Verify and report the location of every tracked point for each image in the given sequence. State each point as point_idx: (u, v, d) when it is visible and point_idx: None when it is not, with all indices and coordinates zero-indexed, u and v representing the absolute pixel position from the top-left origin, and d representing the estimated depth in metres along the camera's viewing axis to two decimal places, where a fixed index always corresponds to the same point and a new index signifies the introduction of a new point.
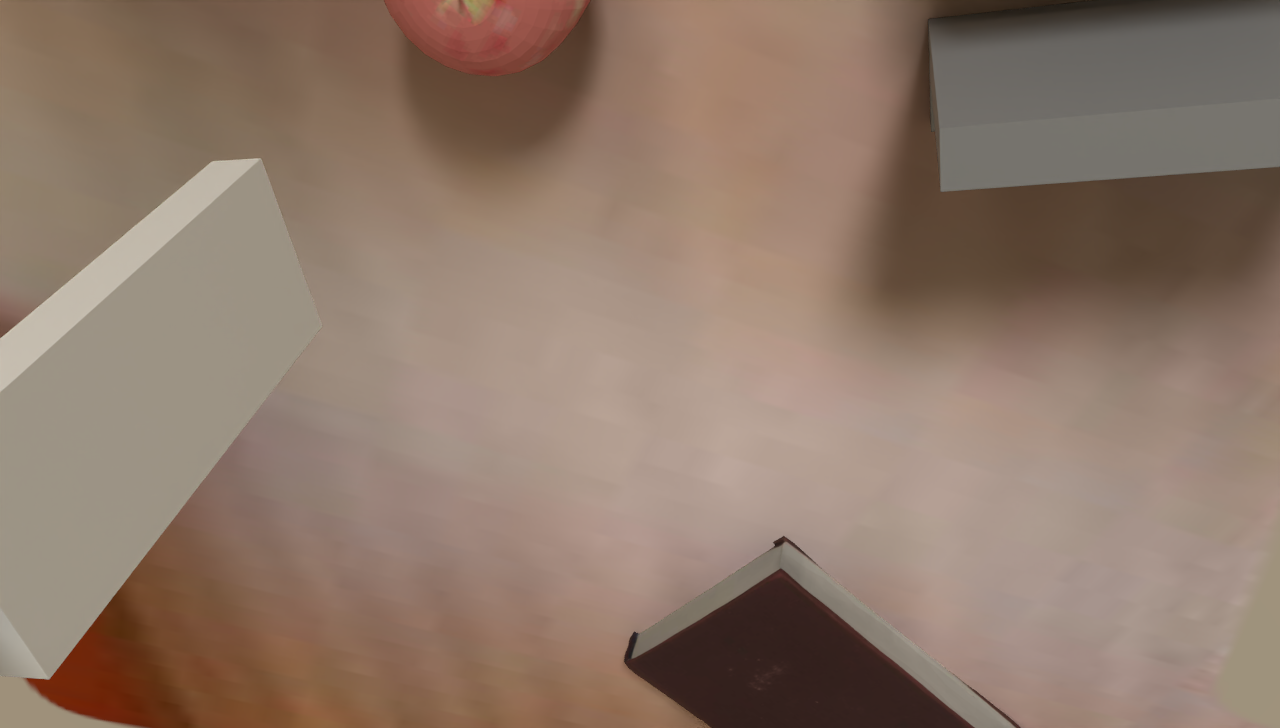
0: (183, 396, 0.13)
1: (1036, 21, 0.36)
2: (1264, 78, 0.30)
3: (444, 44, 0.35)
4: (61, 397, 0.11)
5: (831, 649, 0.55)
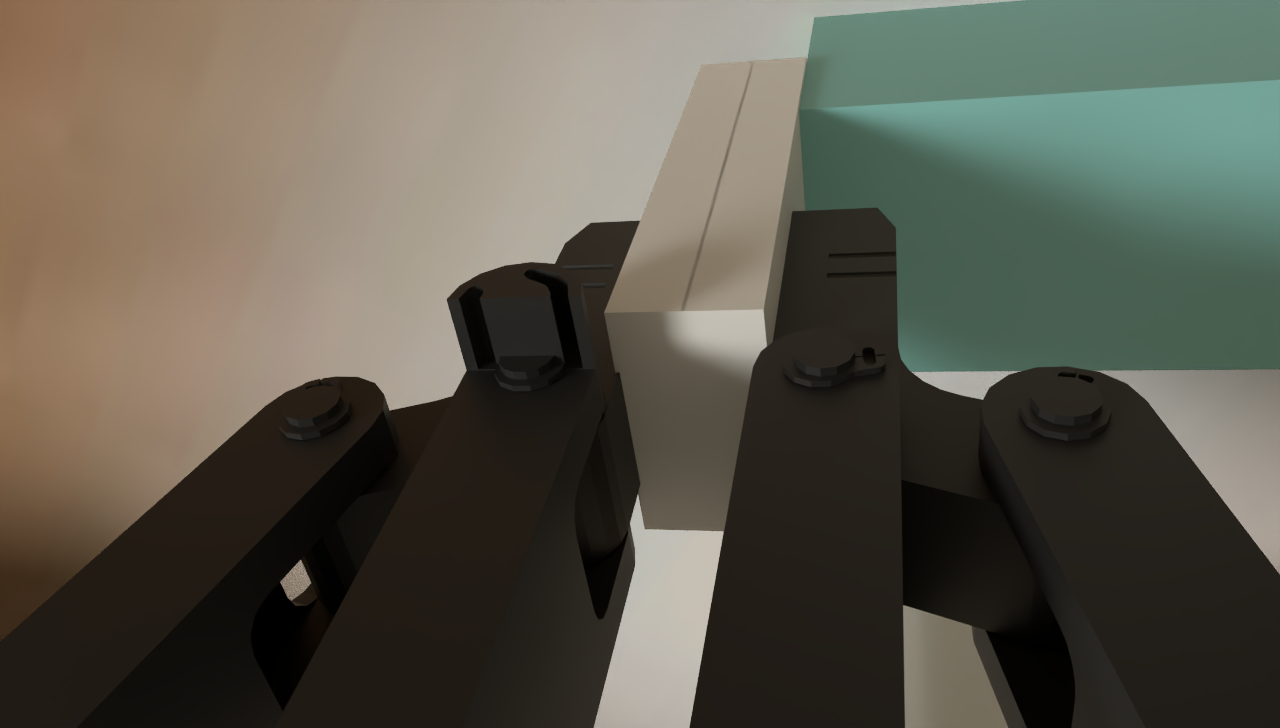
0: None
1: None
2: None
3: None
4: None
5: None
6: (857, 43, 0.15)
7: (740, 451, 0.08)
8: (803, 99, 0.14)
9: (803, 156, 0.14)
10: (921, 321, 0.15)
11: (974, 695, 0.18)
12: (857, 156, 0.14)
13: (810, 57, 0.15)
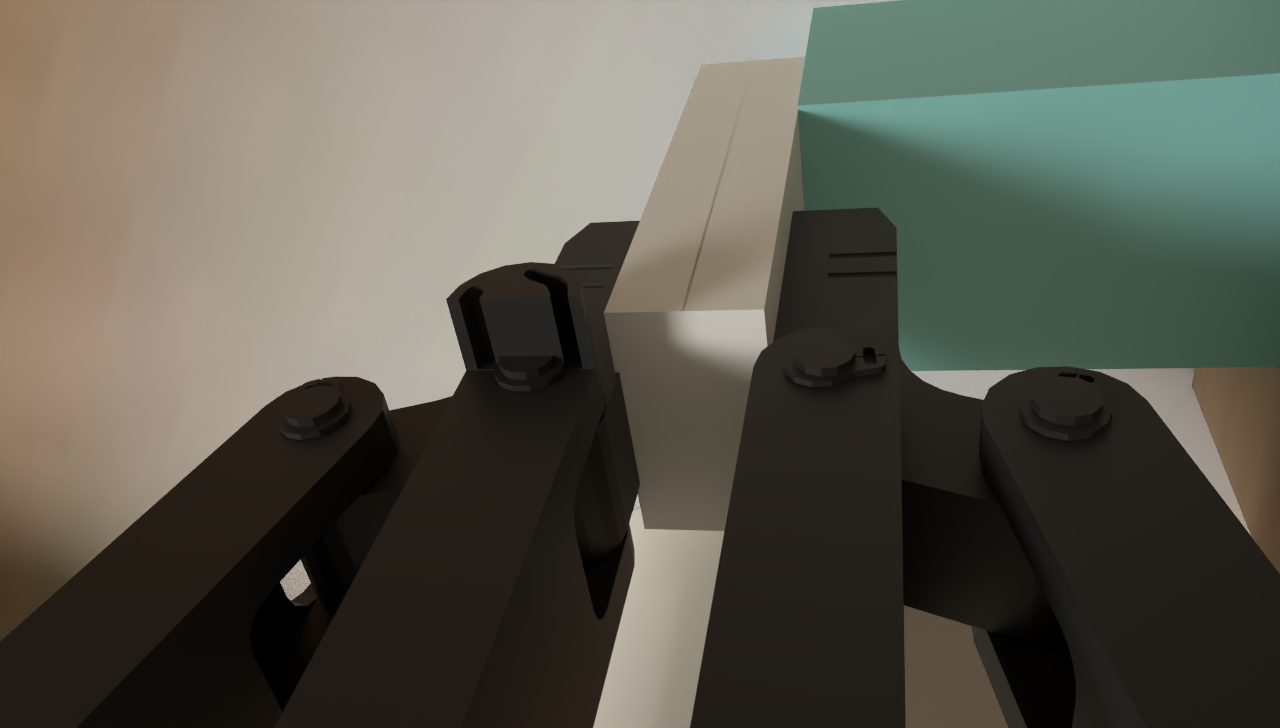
0: None
1: None
2: None
3: None
4: None
5: None
6: (856, 37, 0.15)
7: (742, 451, 0.08)
8: (800, 95, 0.13)
9: (802, 153, 0.13)
10: (922, 319, 0.14)
11: None
12: (857, 153, 0.13)
13: (809, 51, 0.15)
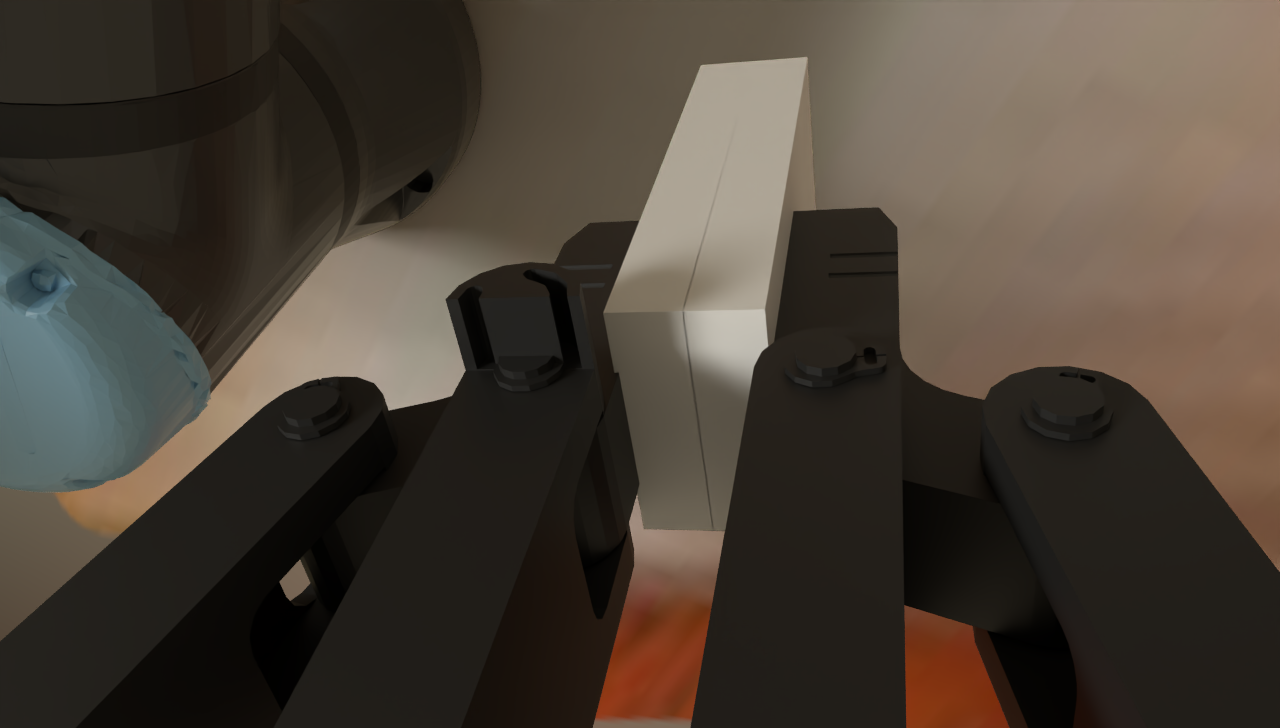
0: None
1: None
2: None
3: None
4: None
5: None
6: None
7: (743, 451, 0.08)
8: None
9: None
10: None
11: None
12: None
13: None
